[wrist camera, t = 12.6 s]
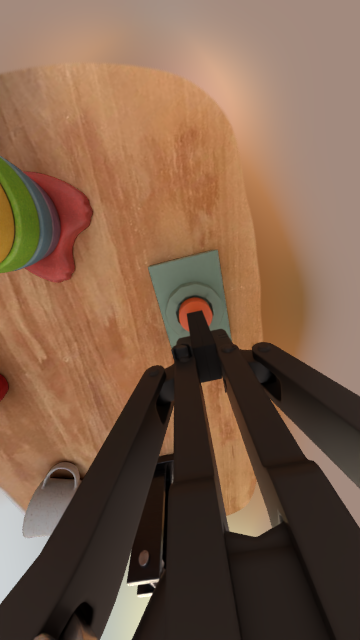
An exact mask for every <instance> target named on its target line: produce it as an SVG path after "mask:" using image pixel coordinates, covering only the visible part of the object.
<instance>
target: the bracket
mask: <svg viewBox="0 0 360 640" xmlns="http://www.w3.org/2000/svg"><path fill="white" fill-rule="evenodd" d="M173 470H174V454H171V455H166V456H161V457H158V461H157V464H156V468H155V471H154V474H153V478H152V481H151V485H150V488H149V491H148V495H147V498H146V502H145V505H144V509H143V512H142V515H141V519H140V522H139V526H138V529H137V532H136V536H135V539H134V543H133V546H132V551H131V557H130V565H129V571H128V578H127V584H128V585H129V586H132V585H138V589H137V595H138V597H146V596H152V593H153V591H154V589H155V588H154V587H153V586H151V585H150V584H149V583H154V582H158V581H159V579H160V577H161V573H162V560H163V562H164V567H163V568H164V569H166V558H167V523H168V495H169V488H170V485H171V484H172V483H173Z"/></svg>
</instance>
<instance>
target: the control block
mask: <svg viewBox="0 0 360 640" xmlns="http://www.w3.org/2000/svg"><path fill="white" fill-rule="evenodd" d="M148 269H149V273H150V276H151V280H152V283H153V287H154V290H155V293H156V297H157V300H158V304H159V307H160V311H161V314H162V317H163V321H164V324H165V328H166V331H167V335H168V338H169V341H170V345H171V348H173V347H174V346H175V345H176V342H177V340H178V339H179V338H183V337H187V336H190V332H189V331H187V330H185V329H184V328H183V327H182V325H181V324H180V321H179V308H180V306H181V304H182V303H183V302H184V301H185V300H187V299H189V298H192V297H198V298H201V299H203V300H205V301H206V302H207V303H208V305H209V307H210V309H211V311H212V315H213V318H212V322H211V324H210V325H209V328H210V331H212V330H216V329H223V330H225V331H226V333H227V334H228V336H229V338H230V339H231V333H230V327H229V320H228V314H227V307H226V301H225V294H224V288H223V281H222V275H221V268H220V262H219V255H218V250H210V251H206V252H202V253H198V254H194V255H190V256H186V257H182V258H178V259H174V260H170V261H166V262H162V263H158V264H154V265H151V266H149V267H148ZM231 341H232V340H231Z"/></svg>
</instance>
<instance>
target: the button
mask: <svg viewBox="0 0 360 640" xmlns="http://www.w3.org/2000/svg"><path fill="white" fill-rule="evenodd" d="M200 310H202V311H203V314H204V316H205V319H206V321H207V324H208V326H209V325H210V324H211V322H212V318H213V315H212V311H211V309H210V307H209V305H208V303H207V302H206V301H205V300H203V299H201V298H198V297H192V298H189V299H187V300H185V301H184V302H183V303H182V304H181V306H180V308H179V321H180V324H181V325H182V327H183V328H184V329H185V330H187V331H189V326H188V320H187V313H191V312H196V311H200Z"/></svg>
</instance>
